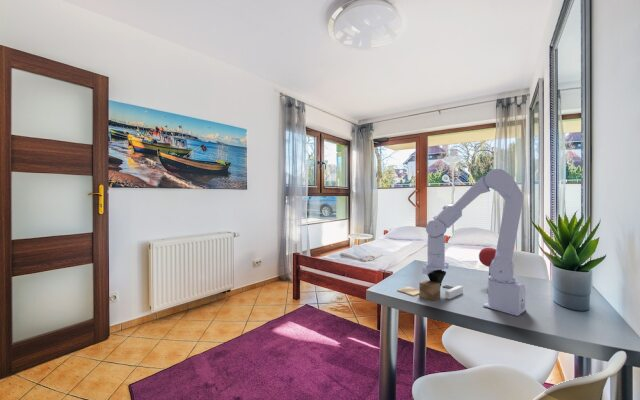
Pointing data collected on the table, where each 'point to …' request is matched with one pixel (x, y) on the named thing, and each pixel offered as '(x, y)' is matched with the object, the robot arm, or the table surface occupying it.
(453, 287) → the trap pad
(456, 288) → the channel
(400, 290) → the pad
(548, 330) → the table surface
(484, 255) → the lollipop
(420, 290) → the block
